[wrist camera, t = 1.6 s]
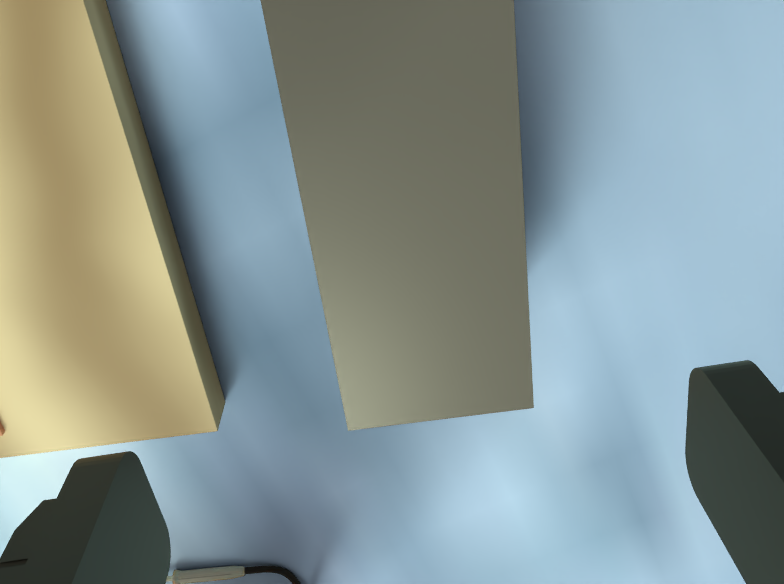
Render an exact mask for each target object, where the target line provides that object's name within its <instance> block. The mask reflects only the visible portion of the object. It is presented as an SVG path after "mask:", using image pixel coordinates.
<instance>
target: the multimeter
mask: <svg viewBox="0 0 784 584" xmlns="http://www.w3.org/2000/svg"><path fill="white" fill-rule="evenodd" d="M263 572H272V573H278V574H281V575H283V576H285V577H286V578H288V579H289V580H290V581H291V582H292V584H301V583H300V582H299V580H298V579H297V577H296V576H295V575H294V574H293V573H292V572H290V571H288V570H287V569H285V568H282V567H278V566H255V567H244V566H225V567H215V568H205V569H195V570H185V571H180V570H174V572H173V575H172V576H167V579H166V581H173V584H186V583H196V582H206V581H216V580H226V579H233V578H237V577H241V576H244V575H245V574H252V573H263Z"/></svg>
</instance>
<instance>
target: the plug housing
mask: <svg viewBox="0 0 784 584" xmlns="http://www.w3.org/2000/svg"><path fill="white" fill-rule="evenodd" d="M261 5H262V9H263V14H264V19H265V24H266V29H267V34H268V39H269V44H270V49H271V54H272V59H273V63H274V68H275V73H276V78H277V83H278V88H279V93H280V98H281V103H282V108H283V113H284V118H285V122H286V127H287V132H288V137H289V142H290V147H291V152H292V157H293V162H294V167H295V172H296V176H297V181H298V186H299V191H300V196H301V201H302V206H303V211H304V216H305V221H306V226H307V230H308V235H309V240H310V245H311V250H312V255H313V260H314V265H315V270H316V275H317V280H318V285H319V289H320V294H321V299H322V304H323V309H324V314H325V319H326V324H327V329H328V334H329V339H330V343H331V348H332V353H333V358H334V363H335V368H336V373H337V378H338V383H339V388H340V393H341V397H342V402H343V407H344V412H345V417H346V422H347V427H348V431H349V430H358V429H366V428H374V427H382V426H390V425H398V424H406V423H415V422H423V421H431V420H439V419H447V418H455V417H464V416H472V415H480V414H488V413H496V412H504V411H512V410H521V409H529V408H534V405H533V384H532V364H531V343H530V323H529V302H528V282H527V262H526V241H525V221H524V200H523V180H522V159H521V139H520V118H519V98H518V77H517V57H516V36H515V16H514V0H261Z"/></svg>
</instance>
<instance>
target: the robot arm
mask: <svg viewBox="0 0 784 584" xmlns="http://www.w3.org/2000/svg"><path fill="white" fill-rule="evenodd" d="M685 455H686V464H687V470H688V474H689V478H690V481H691V484H692V487H693V489H694V491H695V494H696V496H697V498H698V499H699V501H700V503H701V505H702V506H703V508H704V510H705V512H706V513H707V515H708V517H709V519H710V521H711V522H712V524H713V526H714V528H715V529H716V531H717V533H718V535H719V536H720V538H721V540H722V542H723V544H724V545H725V547H726V549H727V551H728V552H729V554H730V556H731V558H732V559H733V561H734V563H735V565H736V567H737V568H738V570H739V572H740V574H741V575H742V577H743V579H744V581H745V582H746V584H784V392H781V393H779V391H778V390H777V389H776V388H775V387H774V386H773V384H772V383H771V382H770V381H769V380H768V378H767V377H766V376H765V375H764V374H763V372H762V371H761V370H760V369H759V368H758V367H757V366H756V365H755V364H754V363H753V362H752V361H749V360H745V361H739V362H732V363H725V364H719V365H712V366H705V367H699V368H694V369H693V370H692V372H691V374H690V378H689V391H688V410H687V428H686V447H685ZM170 557H171V549H170V538H169V533H168V529H167V526H166V523H165V520H164V518H163V515H162V513H161V511H160V508H159V506H158V503H157V501H156V498H155V496H154V493H153V491H152V489H151V486H150V484H149V481H148V479H147V476H146V474H145V471H144V469H143V467H142V464H141V462H140V460H139V458H138V457H137V455H136V454H135V453H133V452H131V451H128V452H122V453H115V454H108V455H102V456H95V457H88V458H82V459H78V460H77V461H76V462H75V463H74V464H73V466H72V468H71V470H70V472H69V474H68V476H67V478H66V480H65V482H64V484H63V486H62V488H61V490H60V493H59V495H58V497H57V499H50V500H43V501H42V502H41V503H40V505H39V506H38V507H37V508H36V509H35V510H34V511H33V512H32V513H31V514H30V515H29V516H28V517H27V518H26V519H25V520H24V521H23V522H22V523H21V524H20V525H19V526H18V527H17V528H16V530H15V531H14V533H13V535H12V536H11V538H10V540H9V542H8V544H7V546H6V548H5V550H4V552H3V554H2V556H1V558H0V584H165V583H166V579H167V576H168V572H169V567H170Z"/></svg>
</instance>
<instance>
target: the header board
mask: <svg viewBox="0 0 784 584" xmlns="http://www.w3.org/2000/svg"><path fill="white" fill-rule="evenodd" d="M224 405H225V399H224V396H223V392H222V389H221V386H220V382H219V379H218V376H217V372H216V369H215V365H214V362H213V359H212V355H211V352H210V349H209V345H208V342H207V339H206V335H205V332H204V329H203V325H202V322H201V319H200V315H199V312H198V309H197V305H196V302H195V298H194V295H193V292H192V288H191V285H190V282H189V278H188V275H187V272H186V268H185V265H184V262H183V258H182V255H181V252H180V248H179V245H178V242H177V238H176V235H175V231H174V228H173V225H172V221H171V218H170V215H169V211H168V208H167V205H166V201H165V198H164V195H163V191H162V188H161V185H160V181H159V178H158V174H157V171H156V168H155V164H154V161H153V158H152V154H151V151H150V148H149V144H148V141H147V138H146V134H145V131H144V128H143V124H142V121H141V118H140V114H139V111H138V107H137V104H136V101H135V97H134V94H133V91H132V87H131V84H130V81H129V77H128V74H127V71H126V67H125V64H124V61H123V57H122V54H121V50H120V47H119V44H118V40H117V37H116V34H115V30H114V27H113V24H112V20H111V17H110V14H109V10H108V7H107V4H106V0H0V458H3V457H11V456H20V455H28V454H36V453H44V452H52V451H60V450H68V449H76V448H84V447H92V446H101V445H109V444H117V443H125V442H133V441H141V440H149V439H157V438H165V437H174V436H182V435H190V434H198V433H206V432H214V431H218V428H219V424H220V420H221V416H222V413H223V409H224Z"/></svg>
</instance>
